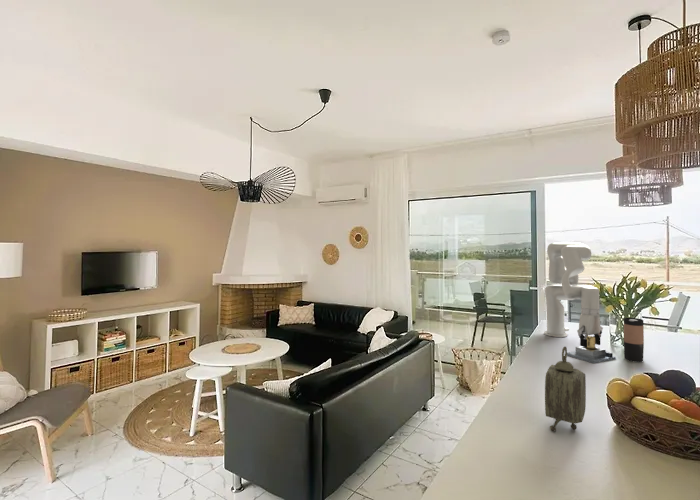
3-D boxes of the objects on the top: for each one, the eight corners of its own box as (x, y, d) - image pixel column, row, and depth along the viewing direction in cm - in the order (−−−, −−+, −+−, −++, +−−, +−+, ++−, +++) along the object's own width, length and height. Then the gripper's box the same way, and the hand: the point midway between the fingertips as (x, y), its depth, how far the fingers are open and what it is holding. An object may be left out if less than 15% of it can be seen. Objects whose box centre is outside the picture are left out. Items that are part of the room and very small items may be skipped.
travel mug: (636, 357, 174) (636, 317, 174) (647, 362, 167) (647, 320, 167) (620, 357, 175) (619, 317, 175) (630, 362, 168) (630, 320, 167)
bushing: (589, 353, 178) (589, 335, 178) (597, 355, 175) (597, 337, 175) (583, 354, 177) (583, 336, 177) (591, 356, 173) (591, 338, 173)
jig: (587, 351, 185) (587, 342, 185) (615, 359, 172) (615, 350, 172) (566, 355, 179) (566, 346, 179) (593, 363, 166) (593, 354, 166)
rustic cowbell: (553, 414, 117) (553, 339, 117) (586, 422, 111) (585, 344, 111) (545, 432, 106) (544, 350, 105) (580, 442, 100) (580, 355, 100)
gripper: (594, 309, 182) (594, 341, 182) (571, 311, 176) (571, 345, 176) (609, 311, 175) (609, 345, 175) (585, 314, 169) (586, 349, 169)
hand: (590, 345), depth 176 cm, fingers open, 9 cm apart
